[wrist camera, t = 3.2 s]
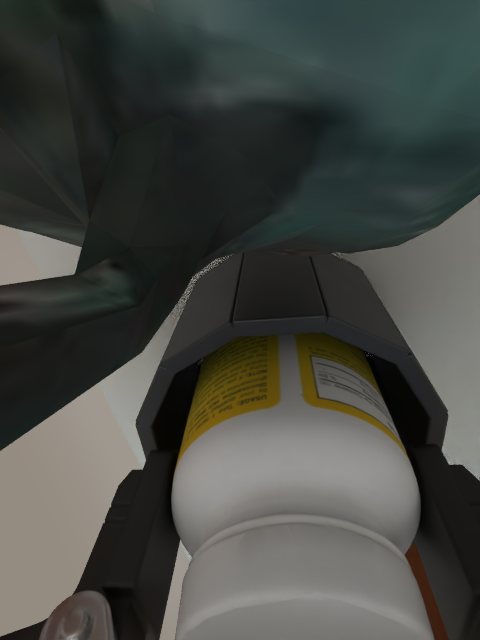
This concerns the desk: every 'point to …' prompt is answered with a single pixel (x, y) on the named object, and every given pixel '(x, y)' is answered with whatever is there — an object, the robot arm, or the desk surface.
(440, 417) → the cup
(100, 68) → the ceramic cat
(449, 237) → the desk surface
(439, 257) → the desk surface
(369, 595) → the pill bottle
